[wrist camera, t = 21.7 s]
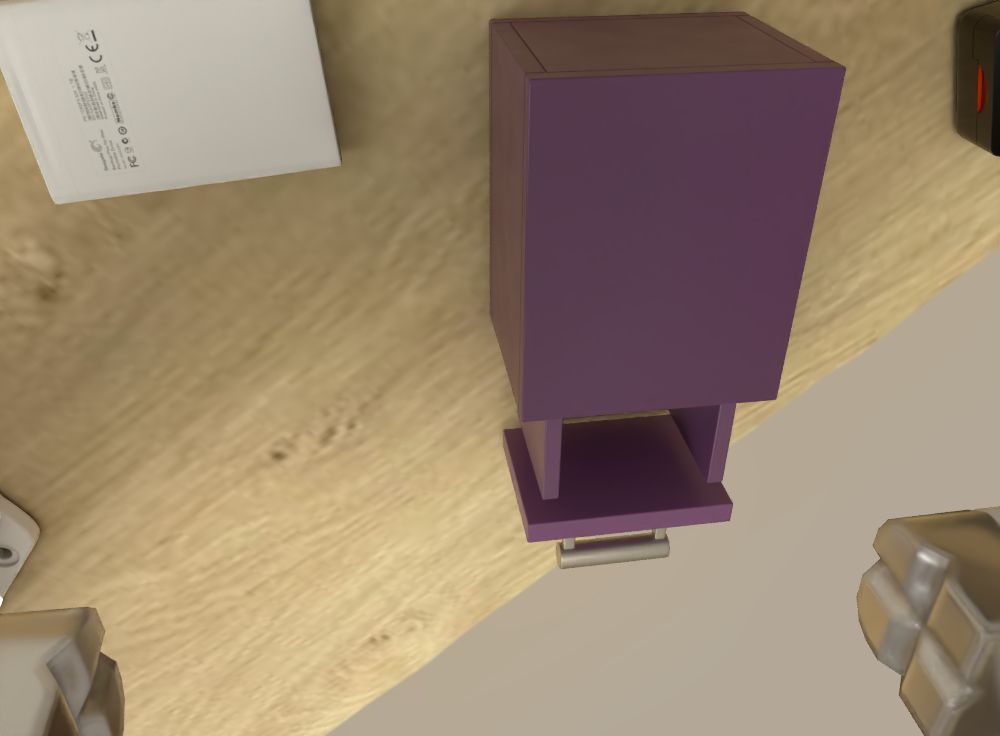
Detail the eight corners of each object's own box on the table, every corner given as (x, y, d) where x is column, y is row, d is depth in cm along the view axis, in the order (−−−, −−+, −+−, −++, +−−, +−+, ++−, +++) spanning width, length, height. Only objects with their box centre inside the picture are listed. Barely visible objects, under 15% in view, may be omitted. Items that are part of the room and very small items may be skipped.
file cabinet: (703, 298, 48) (776, 400, 40) (489, 313, 46) (521, 422, 38) (745, 11, 40) (847, 66, 32) (489, 19, 38) (528, 79, 30)
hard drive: (342, 155, 41) (62, 194, 40) (304, -39, 36) (-12, -1, 35) (342, 168, 39) (53, 208, 38) (303, -32, 35) (-26, 7, 34)
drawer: (672, 486, 54) (718, 581, 47) (502, 503, 52) (525, 604, 46) (712, 210, 44) (776, 283, 38) (504, 223, 43) (534, 300, 36)
